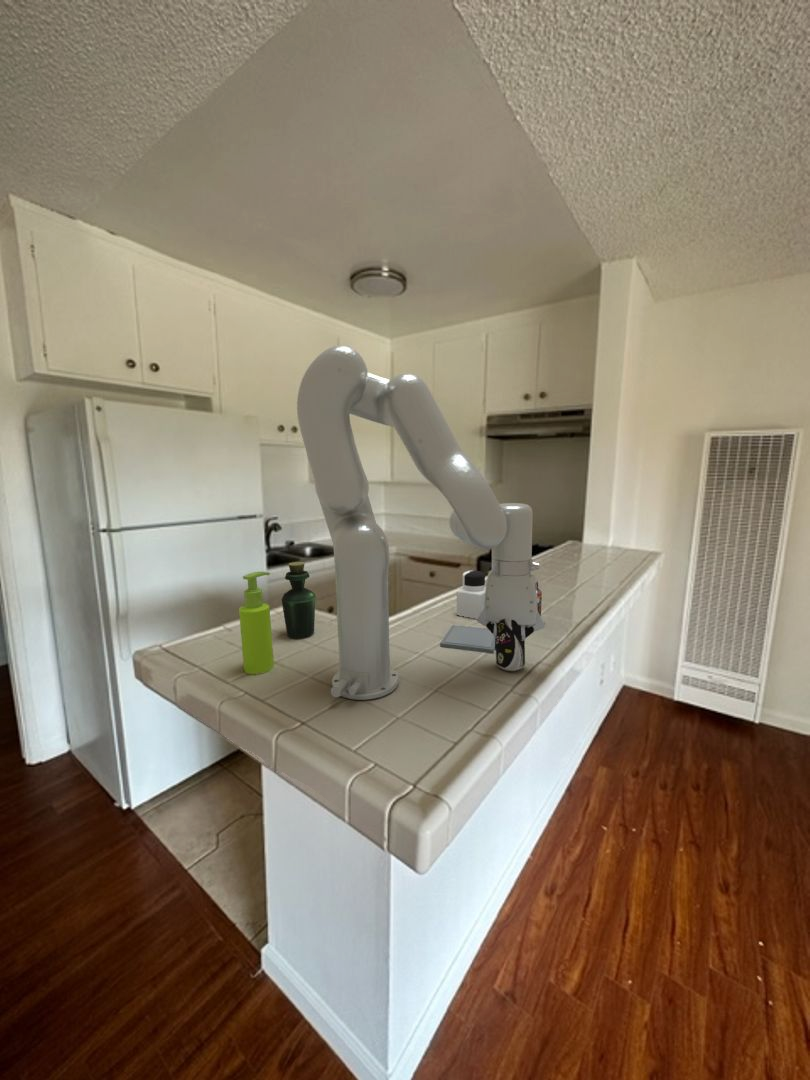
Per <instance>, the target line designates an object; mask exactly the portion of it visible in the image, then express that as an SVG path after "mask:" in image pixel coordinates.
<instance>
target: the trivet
mask: <svg viewBox="0 0 810 1080" xmlns="http://www.w3.org/2000/svg"><path fill="white" fill-rule="evenodd" d="M439 647H440V648H442V647H443V648H449V649H456V650H457V649H458V650H465V651H473V652H481V653H490V654H494V652H495V637H494V636H493V634H492V633H491V631H490V630H489V629H488V628H486V627H485V628H481V627H473V626H464V625H456V624H452V625H451V627H450V628H449V629H448V630H447V633H446V634H445V635H444V637H443V638H442V640H441V642H440V643H439Z"/></svg>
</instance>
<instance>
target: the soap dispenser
mask: <svg viewBox="0 0 810 1080" xmlns="http://www.w3.org/2000/svg"><path fill="white" fill-rule="evenodd" d="M270 574H271V572H267V571H254V572H250V573H248V574H245V575H243V576H242V579H243V580H247V589H246V590H244V592H243V593H244V594H243V596H244V603H245V604H244V605H242V606H240V607H239V609H238V615H239V626H240V627H239V628H240V636H241V650H242V660H243V661H242V663H243V671H244V672H245V673H246V674H249V675H260V674H263V673H264V674H265V673H267V672H269V671H271V670H272V669H273V668H274V666H275V663H274V649H273V638H272V636H273V635H272V622H271V609H270V604H268V603H264V602H263V590H262V589H261V588H259V587H258V581H257V580H258V579H257V578H258V577H262V576H269V575H270Z"/></svg>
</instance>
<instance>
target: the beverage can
mask: <svg viewBox="0 0 810 1080" xmlns="http://www.w3.org/2000/svg"><path fill="white" fill-rule="evenodd" d="M496 627H497V633H496V635H497V636H496V637H497V638H496V651H495V664H496V666H498V668H500V669H501V670H504V671H506V672H516V671H519V670H521V669H523V668H524V667H525V665H526V651H525V650H526V645H525V642H526V639H525V640H524V653H523V641H522V636H521V625H518V623H517V622H516V621H514V620H512V619H502V620H500V621H499V623H497V625H496Z"/></svg>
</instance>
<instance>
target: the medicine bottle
mask: <svg viewBox="0 0 810 1080" xmlns="http://www.w3.org/2000/svg"><path fill="white" fill-rule="evenodd" d="M485 590H486V574H485V573H484V572H482V571H479V570H467V571H465V572H463V573H462V587H461V588H459V589H458V590H456V616H457V615H459V617H462V616H464V617H463V618H468V617H470V618H469V619H473V618H475V619H474V620H477V619H478V617H479V615H480V614H481V612H482V610H483V609H484V601H485Z"/></svg>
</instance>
